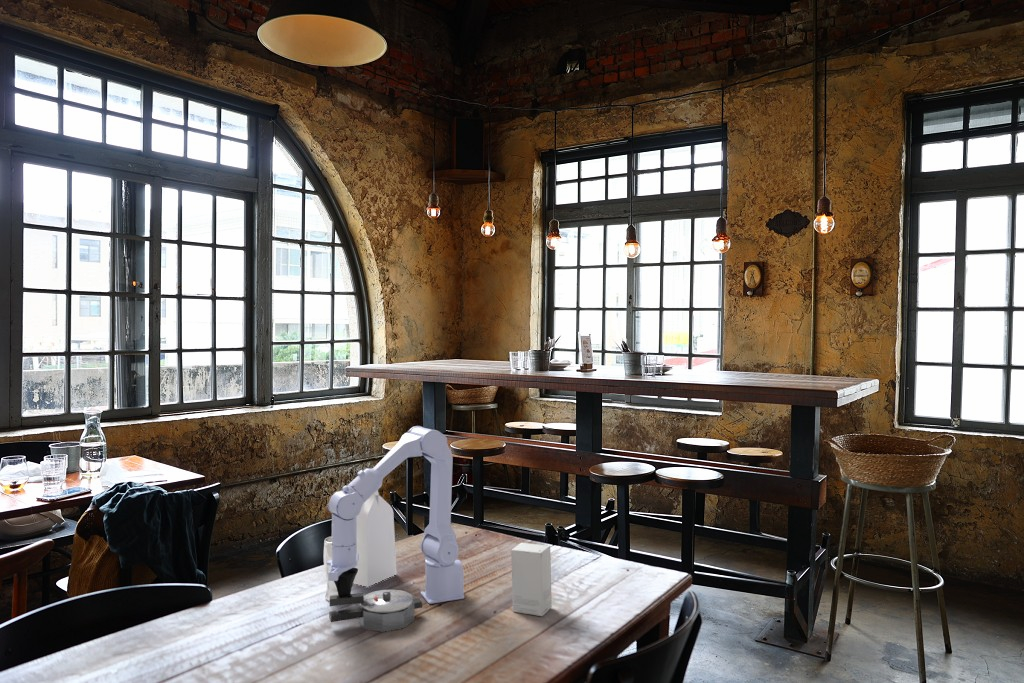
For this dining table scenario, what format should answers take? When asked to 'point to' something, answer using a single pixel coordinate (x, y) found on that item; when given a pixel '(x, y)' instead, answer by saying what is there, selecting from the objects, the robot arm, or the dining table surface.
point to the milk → (375, 542)
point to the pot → (378, 617)
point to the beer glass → (328, 556)
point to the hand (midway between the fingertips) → (344, 600)
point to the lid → (376, 600)
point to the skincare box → (531, 579)
